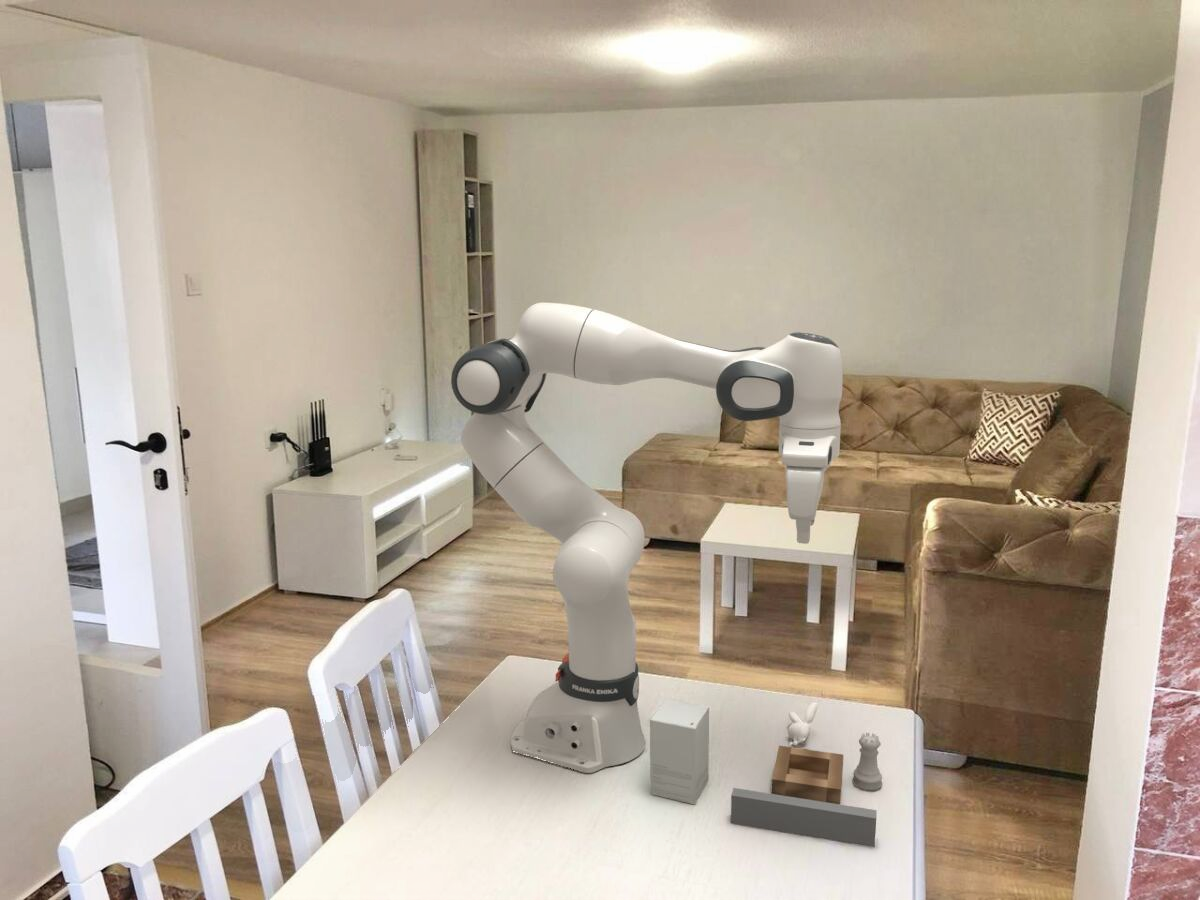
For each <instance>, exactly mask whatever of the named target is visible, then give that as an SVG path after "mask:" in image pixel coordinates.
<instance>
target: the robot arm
mask: <svg viewBox="0 0 1200 900" xmlns="http://www.w3.org/2000/svg"><path fill="white" fill-rule="evenodd" d="M842 358H843V357H842V352H841V349H840V348H839V346H838V345H837V343H836V342H834V341H833V340H832V338H831V339H830V338H829V337H825V336H823V335H818V334H815V333H809V332H800V331H799V332H791V333H789V334H787V336H785V337H784V338H782V339H781V340H779V341H778V342H776V343H773V344H772V345H770V346H768V347H763V346H755V347H753V346H752V347H747V348H743V349H736V350H726V349H721V348H720V349H719V348H717V347H716V348H715V347H713V346H712V347H711V346H707V345H702V344H699V343H693V342H690V341H686V340H681V339H677V338H672V337H671V336H670V337H669V336H667V335H664V334H662V333H659V332H657V331H654V330H652V329H649V328H647V327H645V326H642V325H640V324H637V323H635V322H632V321H630V320H628V319H626V318H623V317H620V316H619V315H616V314H613V313H609V312H606V311H602V310H598V309H594V308H590V307H586V306H580V305H575V304H568V303H560V302H544V301H543V302H537V303H534V304H532V305H531V306H529V307H528V308H527V309H526V310H525V312H523V314H522V315H521V317H520V319H519V321H518V325H517V329H516V332H515V334H514V336H513V337H512V338H500V339H496V340H491V341H488V342H486V343H482V344H479V345H477V346H474V347H472V348H470V349H469V350H467V351H465V353H463V354H462V355H461V356H460V357H459V358H458V360H457V361H456V362H455V364H454V367H453V369H452V372H451V379H450V382H451V389H452V392H453V394H454V396H455V399H456V400H457V401H458V402H459V403H460V405H462V407H463V408H465V409H466V410H468V411H470V412H472V415H471V416H470V417H469V418H468V419H467V420H466V422H465V424H464V426H463V428H462V432H461V433H460V434H461V435H460V441H461V445H462V447H463V450H465V452H466V454H467V455H468V457H469V458H470V460H471V462H473V464H474V466H475V467H476V469H477V470H478V471H479V473H480V474H481V475H482V477H484V479H485V480H486V482H487V483H488V484H490V486H491V487H492V488H493V489H494V490H495V491H496V492H497V494H498V495H499V496H500V497H501V498H502V499H503V500H504V501H505V502H506V504H508V505H509V507H510V508H511V509H512V510H514V512H515V513H516V514H517V515H518V517H520V518H521V520H523V522H524V523H526V524H527V525H529V526H531V527H532V528H537V529H540V530H542V531H544V532H546V533H547V534H548V535H550V536H552V537H554V538H555V539H556V540H558V541H559V542H561V543H562V545H561V546H560V547H559V550H558V553H557V555H556V558H555V561H554V564H553V568H552V579H553V582H554V585H555V588H556V590H557V591H558V592H559V594H560V595H561V596H562V601H563V605H564V609H565V614H566V615H565V616H566V620H567V631H568V634H567V635H568V636H567V637H568V640H567V641H568V642H567V643H568V652H567V653H566V654H565V655H564V657H563V658H562V659H561V664H560V665H559V666H558V668H557V671H556V673H555V679H554V681H555V682H554V684H552V685H551V686H549V687H547V688H546V689H543V690H542V691H541V692H540V693H539V694H538V695H537V696H536V697H535V698H534V699H532V701H531V703H530V705H529V706H528V709H527V711H526V714H525V717H524V718H523V719H522V720H521V721H520V723H519V724H517V726H516V727H515V729H514V730H513V733H512V735H511V737H510V748H511V747H512V749H511V751H512V750H513V751H515V752H518V753H521V754H525V755H526V754H527V755H529V756H532V757H538V758H540V759H543V760H546V761H549V762H553V763H555V764H558V765H557V766H559V765H561V766H560V767H563V766H565V767H564V768H566V767H569V768H568V769H570V768H571V769H570V770H573V769H574V770H573V771H577V770H578V771H577V772H580V773H584V774H592V773H595V772H597V771H600V770H601V769H604V768H609V767H612V766H617V765H621V764H624V763H628V762H630V761H632V760H634V759H635V758H637V757H639V756H640V755H641V754H642V752H643V751H644V750H645V748H646V740H645V737H644V733H643V729H642V725H641V721H640V715H639V714H640V713H639V708H638V698H639V694H640V675H639V665H638V663H637V662H636V655H637V653H636V652H637V651H636V649H637V648H636V647H637V643H636V641H637V638H636V635H637V634H636V632H637V628H636V627H637V625H636V624H637V623H636V618H635V616H634V615H633V613H632V610H631V604H630V603H631V602H630V599H629V590H628V589H629V580H630V576H631V574H632V573H631V572H632V570H634V568H635V566H636V565H637V564H638V562H639V561H640V559H641V558H642V555H643V552H644V549H645V548H644V547H645V537H646V536H645V530H644V529H645V528H644V527H643V524H642V522H641V520H639V518H638V517H637V516H636V515H635V514H634V513H632V512H631V511H629V510H627V509H624V508H620V507H619V506H617V505H615V504H614V503H613V502H611V501H610V500H608V499H607V498H605V497H604V496H603V495H602V494H600V493H599V492H598V491H596V490H595V489H593V488H592V487H591V486H589V485H588V484H587V483H586V482H584V481H583V480H582V479H580V478H579V477H578V476H577V475H576V474H575V473H574V472H573V471H572V470H571V469H570V468H569V467H568V466H567V465H566V463H564V461H563V460H562V459H561V458H560V457H559V456H558V455H557V454H556V453H555V452H554V451H553V450H552V449H551V448H550V447H549V446H548V444H547V443H546V442H545V441H544V440H543V439H542V438H541V437H540V436H539V435H538V434H537V433H536V432H535V431H534V429H533V428H532V427H531V426H530V424H529V423H528V421H527V419H526V415H525V413H529V411H530V410H531V409H532V407H533V406H534V403H535V401H536V399H537V397H538V396H539V395H540V393H541V390H542V388H543V386H544V384H545V381H546V379H547V375H548V374H557V375H562V376H566V377H570V378H572V379H576V380H579V381H583V382H587V383H592V384H600V385H609V386H611V385H612V386H622V385H624V386H625V385H628V384H631V383H635V382H639V381H645V380H650V379H651V380H652V379H670V380H677V381H681V382H683V383H684V382H685V383H688V384H694V385H696V386H697V385H698V386H702V387H707V388H711V389H714V390H715V393H716V399H717V402H718V404H719V406H720V408H721V409H722V410H723V412H724V413H726V414H727V416H729V417H731V418H733V419H735V420H738V421H743V422H756V421H761V420H769V419H775V418H779V433H778V435H779V437H778V454H779V455H780V457H781V465H782V466H784V467H785V486H786V500H787V501H786V502H787V512H788V517H789V518H790V519H791V520H795V527H796V542H797V543H799V544H805V545H807V544H809V543H810V541H811V540H810V539H811V526H813V525H814V524H815V521H816V519H815V518H816V515H817V511H818V507H819V503H820V499H821V495H822V492H823V488H824V487H823V486H824V480H825V479H824V478H825V472H826V470H827V469H828V468H830V467H831V462H832V461H833V460H835V459H836V458H838V457H840V451H841V449H840V448H841V447H840V446H841V431H842V429H841V427H842V422H841V418H840V417H841V416H840V413H839V412H840V411H839V410H840V404H841V401H842V399H843V398H842V396H843V381H844V380H843V379H844V376H843V375H844V374H843V373H844V371H843V369H844V368H843V359H842ZM513 751H512V752H513ZM555 764H554V765H555Z"/></svg>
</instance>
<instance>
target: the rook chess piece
mask: <svg viewBox="0 0 1200 900" xmlns="http://www.w3.org/2000/svg"><path fill="white" fill-rule="evenodd" d="M858 743H859V745H860V746H861V747H860V748H859V752H860V758H859V763H858V765H856V768H855V769H854V770H853V774H852V775H853V777H852V781H853V784H854V785H855V786H856V787H857V788H858V789H860V790H862V791H867V792H869V791H870V792H872V791H873V792H874V791H877V790H878V789H879V788H881V787H882V786H883V785H882V784H883V782H882V780H883V776H882V773H881V772H880V768H879V767H878V755H879V751H878V749H879V748H880V747H881V742H880V740H879V736H878V735H876V734H875V733H872V734H871V735H870V732H866V734H865V733H862V734H861V737H860V738H859V739H858Z"/></svg>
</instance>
